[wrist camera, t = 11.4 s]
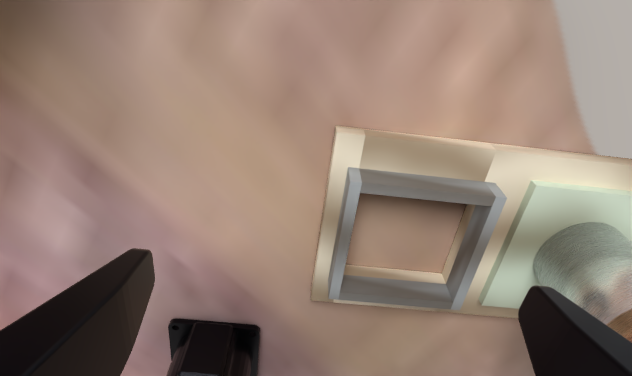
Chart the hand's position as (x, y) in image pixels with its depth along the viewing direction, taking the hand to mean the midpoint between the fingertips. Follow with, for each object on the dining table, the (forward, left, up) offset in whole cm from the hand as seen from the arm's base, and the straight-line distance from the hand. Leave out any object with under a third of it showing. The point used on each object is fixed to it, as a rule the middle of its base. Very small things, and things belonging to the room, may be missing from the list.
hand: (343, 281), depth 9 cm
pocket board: (-7, -11, -13) cm, 18 cm away
